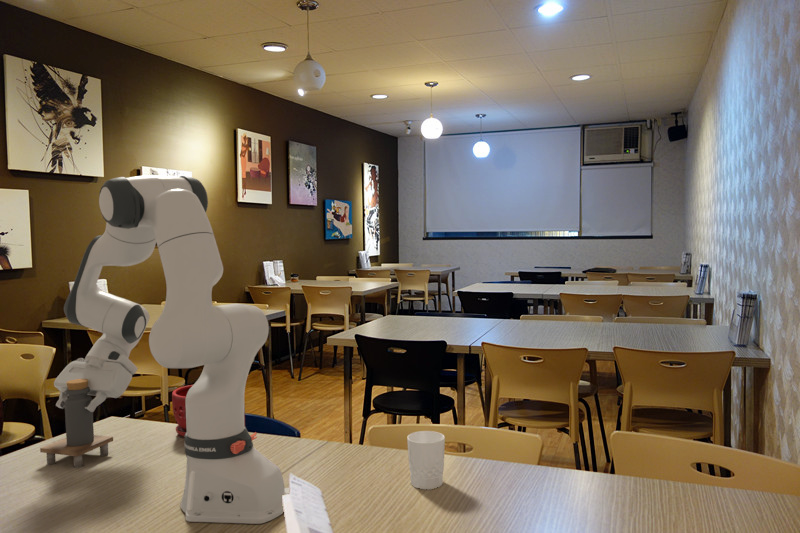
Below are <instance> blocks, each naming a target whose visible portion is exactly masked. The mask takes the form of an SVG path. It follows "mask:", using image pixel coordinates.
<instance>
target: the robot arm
mask: <svg viewBox="0 0 800 533" xmlns="http://www.w3.org/2000/svg"><path fill="white" fill-rule="evenodd" d="M98 195H99V196H98V206H99V209H100V214H101V215H102V218H103V220H104V221H105V222H106V223H105V229H104V230H105V231H104V232H103V234H102V235H101V234H100V235H96V236H95V237H94V238H92V240H91V241H90V242H89V243H88V245H87V246H86V248H85V252H84V253H83V256H82V258H81V262H80V264H79V268H78V270H77V273H76V276H75V278H74V282H73V285H72V287H71V290H70V292H69V293H68V296H67V298H66V300H65V303H64V305H63V313H64V314H65V316H66V318H67V320H68V321H67V322H69V323H71V324H73V325H77V326H81V327H85V328H89V329H91V330H94V331H97V332H98V333H102V335H101V336H100V337H99V338H98V339H97V340H96V341H95V343H94V344H93V346H92V347H91V348H90V350H89V351H88V353H87V354H86V356H85V358H83V357H79V358H77V359H75V360H73V361H71V362H69V363H68V364H67V365H66V366H65V367H64V368H63V370H62V371H61V372H60V373H59V375H57V377H56V378H55V380H54V381H53V386H54V388H56V389H57V390H58V391H59V397H58V400H57V401H56V403H55V407H57V408H59V409H65V400H66V399H67V398H69V395H67V394H66V389H68V387H67V384H66V382H67V381H70V380H75V379H88V386H87V387H89V388H90V391H89V392H87V395H89V396H95V397H94V398H92V401H91V402H87V404H86V406H85V407H84V409H85V410H87V411H89V412H93V413H94V412H95V410H96V408H97V407H98V406H99V405H101V404H102V403H103V402H105V401H106V399H107V398H114V399H117V398H119V397H121V396H122V395H124V393H125V392H126V391H127V388H128V387H129V385H130V384H131V381H132V378H133V375H135V374H136V373H137V371H138V367H137V366H136V365H135V363H134V362H133V361H132V360H131V359H129V357H130V354H131V352H132V350H133V349H134V348H135V347H136V346H137V345H138V343H139V342H140V340H141V339H142V337H143V334H144V333H145V331H146V328H147V326H148V324H149V321H150V313H149V311H148V310H147V308H145V307H144V306H143V305H141V304H140V303H137V302H134V301H131V300H130V299H127V298H124V297H120V296H118V295H114V294H112V293H110V292H107V291H104V290H102V289H101V288H100V287H98V285H97V283H98V280H99V278H100V275H101V272H102V270H103V267H108V266H110V267H111V266H112V267H114V266H115V267H131V266H135V265H138V264H141V263H143V262H146V260H148V259H149V258H150V257H151V256H152V254H153V253H154V251H155V248H156V247H157V249H158V253H159V257H160V261H161V265H162V269H163V274H164V279H165V284H166V286H165V287H166V294H165V295H166V296H165V304H164V307H163V310H162V312H161V314H160V316H158V318H157V320H156V321H155V322H154V324H152V327H151V328H150V333H149V337H148V345H149V346H148V347H149V350H150V353H151V355H152V357H153V358H154V360H155V361H156V362H157V363H158V364H159V366H162V367H163V368H166V369H193V368H196V367H197V368H198V367H201V366H203V369H202V372H201V373H200V376H199V377H198V379H197V380H196V381H195V382H194V384H192V385H193V386H192V387H191V388H190V389H189V391H188V393H187V395H186V427H187V432H186V434H185V437H184V452H185V456H186V470H185V471H186V472H185V482H184V486H183V487H184V488H183V492H182V497H181V501H180V509H181V510H182V511H183V513H184V514H185V518H184V519H185V521H187V522H190V523H192V522H194V523H195V522H196V523H198V522H199V523H220V524H221V523H224V524H252V525H253V524H256V525H258V524H264V523H268V522H270V521H272V520H274V519H276V518H278V517H279V516H281V515H282V514H284V513H283V506H282V495H284V494H289V487H285V482H284V481H285V480H284V477H283V473H282V471H281V469H280V467H279V466H278V465H277V464H276V463H274V462H273V461H271V460H270V459H269V458H267V456H265V455H264V454H263V453H261V452H260V451H259V450H258V449H256V447H255V446H254V443H253V441H254V440H255V439H257V438H258V436H257V432H254V433H252V434H250V433H249V430H248V429H247V427H246V425H245V426H244V404H245V393H246V392H245V391H246V385H247V381H248V380H247V379H248V376H249V372H250V370H251V367H252V364H253V362H254V360H255V357H256V356H257V354H258V352H259V351H260V349H261V348H262V347H263V346H264V345H265V344H266V342H267V339H268V336H269V332H270V331H269V330H270V328H269V321H268V318H267V316H266V314H265V312H264V311H263V309H261V308H259V307H258V306H256V305H253V304H252V305H251V304H246V303H227V304H220V305H219V304H218V305H214V304H213V300H212V298H213V297H212V291H213V287H214V286H215V285H217V283H218V282H219V281H220V279H221V278H222V276H223V273H224V265H223V261H222V259H221V254H220V251H219V247H218V244H217V241H216V238H215V233H214V231H213V228H212V224H211V222H210V220H209V218H208V214H207V211H208V206H209V198H208V192H207V190H206V188H205V186H204V185H203V183H202V182H201V181H200V180H199V179H197V178H194V177H192V176H191V177H190V176H184V175H181V176H171V175H168V176H167V175H155V174H150V175H147V174H146V175H136V176H129V177H125V176H120V177H119V176H117V177H114V178H110V179H108V180H106V181H105V182H104V183H103V184H102V185H101V187H100V190H99V194H98Z"/></svg>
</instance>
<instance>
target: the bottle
mask: <svg viewBox="0 0 800 533" xmlns="http://www.w3.org/2000/svg"><path fill="white" fill-rule="evenodd" d="M66 384H67V387H68V389H66V394H67V395H69V396H68V397H67V399H66V400H65V408H64V415H65V416H64V418H65V421H64V422H65V434H66V435H65V438H66V439H67V445H68V446H83V445H87V444H90V443H92V442H93V441H94V435H95V433H94V411H93V412H89V411H87V410H85V409H84V407H85V406H86V404H87V402H91V401H92V400H93V397H92V395H87V392H89V391H90V388H89V387H87V386H88V379H75V380H70V381H67V382H66Z"/></svg>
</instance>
